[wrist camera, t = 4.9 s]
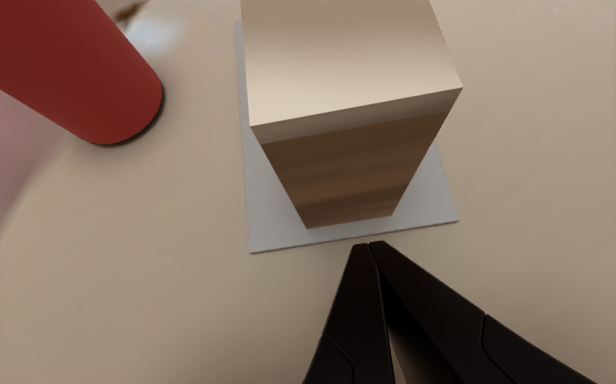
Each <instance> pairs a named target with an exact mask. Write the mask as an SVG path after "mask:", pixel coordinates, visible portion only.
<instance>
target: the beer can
mask: <svg viewBox="0 0 616 384" xmlns="http://www.w3.org/2000/svg"><path fill="white" fill-rule="evenodd" d="M0 90H2V91H4V92H5V93H7V94H8V95H10V96H12V97H14V98H15V99H17V100H19V101H20V102H22V103H23V104H25V105H27V106H28V107H30V108H31V109H33V110H35V111H37V112H38V113H40V114H41V115H43V116H45V117H46V118H48V119H50V120H51V121H53V122H55V123H56V124H58V125H59V126H61V127H63V128H64V129H66V130H68V131H69V132H71V133H73V134H74V135H76V136H78V137H79V138H81V139H83V140H86V141H88V142H91V143H94V144H113V143H116V142H120V141H123V140H127V139H129V138H131V137H132V136H134V135H136V134H138V133H139V132H141V131H142V130H143V129H144V128H145V127H146V126H147V125H148V124H149V123H150V122H151V121H152V119H153V118H154V116H155V115H156V113H157V111H158V109H159V106H160V102H161V99H162V89H161V82H160V80H159V78H158V76H157V75H156V73H155V72H154V70H153V69H152V68H151V67H150V66H149V64H148V63H147V62H146V61H145V60H144V58H143V57H142V56H141V55H140V54H139V52H138V51H137V50H136V49H135V48H134V46H133V45H132V44H131V43H130V42H129V41H128V39H127V38H126V37H125V36H124V35H123V33H122V32H121V31H120V30H119V29H118V27H117V26H116V25H115V24H114V23H113V21H112V20H111V19H110V18H109V17H108V16H107V14H106V13H105V12H104V11H103V9H102V8H101V7H100V6H99V5H98V3H97V2H96V1H95V0H0Z"/></svg>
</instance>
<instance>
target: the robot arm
mask: <svg viewBox="0 0 616 384" xmlns="http://www.w3.org/2000/svg"><path fill="white" fill-rule="evenodd" d="M388 335H389V336H388ZM389 338H390V340H391V343H392V346H393V348H394V351H395V353H396V356H397V359H398V361H399V364H400V366H401V369H402V372H403V374H404V377H405V380H406V382H407V384H597V383H595V382H593V381H592V380H590V379H588V378H587V377H585V376H583V375H582V374H580V373H578V372H577V371H575V370H573V369H572V368H570V367H568V366H567V365H565V364H563V363H562V362H560V361H558V360H557V359H555V358H554V357H552V356H550V355H549V354H547V353H546V352H544V351H542V350H541V349H539V348H537V347H536V346H534V345H533V344H531V343H529V342H528V341H526V340H525V339H524V338H522V337H521V336H519V335H518V334H516V333H515V332H513V331H512V330H510V329H509V328H507V327H506V326H504V325H503V324H501V323H500V322H499V321H497V320H496V319H494V318H493V317H491V316H490V315H488V314H486V315H485V312H484V311H483V310H481V309H480V308H478V307H477V306H476V305H474V304H473V303H471V302H470V301H468V300H467V299H466V298H464V297H463V296H461V295H460V294H459V293H457V292H456V291H454V290H453V289H451V288H450V287H449V286H447V285H446V284H444V283H443V282H442V281H440V280H439V279H437V278H436V277H434V276H433V275H432V274H430V273H429V272H427V271H426V270H425V269H423V268H422V267H420V266H419V265H417V264H416V263H415V262H413V261H412V260H410V259H409V258H408V257H406V256H405V255H403V254H402V253H400V252H399V251H398V250H396V249H395V248H393V247H392V246H391V245H389V244H388V243H386V242H385V241H382V240H381V241H375V242H370V243H369V244H367V243H362V244H355V245H353V246H352V249H351V252H350V255H349V258H348V260H347V263H346V266H345V269H344V272H343V275H342V278H341V280H340V283H339V286H338V289H337V292H336V295H335V298H334V300H333V303H332V306H331V309H330V312H329V315H328V318H327V320H326V323H325V326H324V329H323V332H322V337H320V340H319V343H318V346H317V348H316V351H315V354H314V356H313V359H312V362H311V364H310V367H309V369H308V372H307V374H306V376H305V378H304V380H303V383H302V384H395V377H394V370H393V363H392V356H391V349H390V342H389Z"/></svg>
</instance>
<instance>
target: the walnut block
mask: <svg viewBox="0 0 616 384" xmlns="http://www.w3.org/2000/svg"><path fill="white" fill-rule="evenodd" d="M241 13H242V27H243V40H244V54H245V68H246V82H247V95H248V109H249V123H250V128H251V129H252V131H253V133H254V135H255V137H256V139H257V140H258V142H259V144H260V146H261V148H262V149H263V151H264V153H265V155H266V157H267V158H268V160H269V162H270V164H271V166H272V168H273V169H274V171H275V173H276V175H277V177H278V178H279V180H280V182H281V184H282V186H283V187H284V189H285V191H286V193H287V195H288V196H289V198H290V200H291V202H292V204H293V206H294V207H295V209H296V211H297V213H298V215H299V216H300V218H301V220H302V222H303V224H304V225H305V227H306V229H311V228H318V227H324V226H330V225H337V224H343V223H349V222H355V221H362V220H368V219H374V218H381V217H387V216H392V214H393V212H394V210H395V209H396V207H397V205H398V203H399V201H400V200H401V198H402V196H403V194H404V192H405V191H406V189H407V187H408V185H409V183H410V182H411V180H412V178H413V176H414V174H415V173H416V171H417V169H418V167H419V165H420V164H421V162H422V160H423V158H424V157H425V155H426V153H427V151H428V149H429V148H430V146H431V144H432V142H433V140H434V139H435V137H436V135H437V133H438V131H439V130H440V128H441V126H442V124H443V122H444V121H445V119H446V117H447V115H448V113H449V112H450V110H451V108H452V106H453V105H454V103H455V101H456V99H457V97H458V96H459V94H460V92H461V90H462V88H463V85H462V83H461V80H460V78H459V75H458V73H457V70H456V68H455V65H454V63H453V60H452V58H451V55H450V53H449V50H448V47H447V45H446V42H445V40H444V37H443V35H442V32H441V30H440V27H439V25H438V22H437V20H436V17H435V15H434V12H433V10H432V7H431V5H430V2H429V0H241Z"/></svg>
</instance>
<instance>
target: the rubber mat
mask: <svg viewBox="0 0 616 384" xmlns="http://www.w3.org/2000/svg"><path fill="white" fill-rule="evenodd" d="M235 33H236V50H237V66H238V83H239V99H240V116H241V132H242V149H243V165H244V181H245V198H246V214H247V231H248V247H249V253H250V254H254V253H261V252H267V251H273V250H280V249H286V248H293V247H299V246H306V245H312V244H319V243H325V242H331V241H338V240H344V239H351V238H357V237H364V236H370V235H376V234H383V233H389V232H396V231H402V230H409V229H415V228H422V227H428V226H434V225H441V224H447V223H454V222H458V221H459V220H460V218H459V215H458V212H457V209H456V206H455V203H454V199H453V196H452V193H451V190H450V187H449V184H448V181H447V178H446V175H445V172H444V169H443V166H442V163H441V160H440V157H439V154H438V151H437V148H436V145H435V141H434V140H433V142H432V144H431V146H430V148H429V149H428V151H427V153H426V155H425V157H424V158H423V160H422V162H421V164H420V165H419V167H418V169H417V171H416V173H415V174H414V176H413V178H412V180H411V182H410V183H409V185H408V187H407V189H406V191H405V192H404V194H403V196H402V198H401V200H400V201H399V203H398V205H397V207H396V209H395V210H394V212H393V214H392V216H387V217H381V218H374V219H368V220H362V221H355V222H349V223H343V224H337V225H330V226H324V227H318V228H311V229H306V227H305V225H304V224H303V222H302V220H301V218H300V216H299V215H298V213H297V211H296V209H295V207H294V206H293V204H292V202H291V200H290V198H289V196H288V195H287V193H286V191H285V189H284V187H283V186H282V184H281V182H280V180H279V178H278V177H277V175H276V173H275V171H274V169H273V168H272V166H271V164H270V162H269V160H268V158H267V157H266V155H265V153H264V151H263V149H262V148H261V146H260V144H259V142H258V140H257V139H256V137H255V135H254V133H253V131H252V129H251V128H250V123H249V109H248V95H247V82H246V68H245V54H244V40H243V27H242V20H238V21H235Z"/></svg>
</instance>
